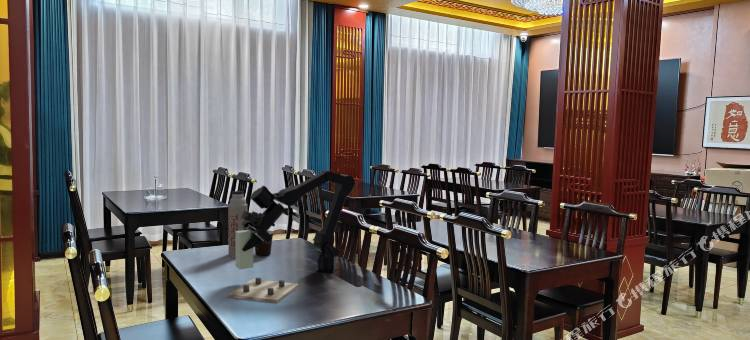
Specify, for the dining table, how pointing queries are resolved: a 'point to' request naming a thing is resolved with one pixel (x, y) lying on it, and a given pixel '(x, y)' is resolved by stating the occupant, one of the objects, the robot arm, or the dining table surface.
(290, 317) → the dining table surface
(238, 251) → the sage block
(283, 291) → the peg board
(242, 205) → the thermos bottle
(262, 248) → the coffee mug
